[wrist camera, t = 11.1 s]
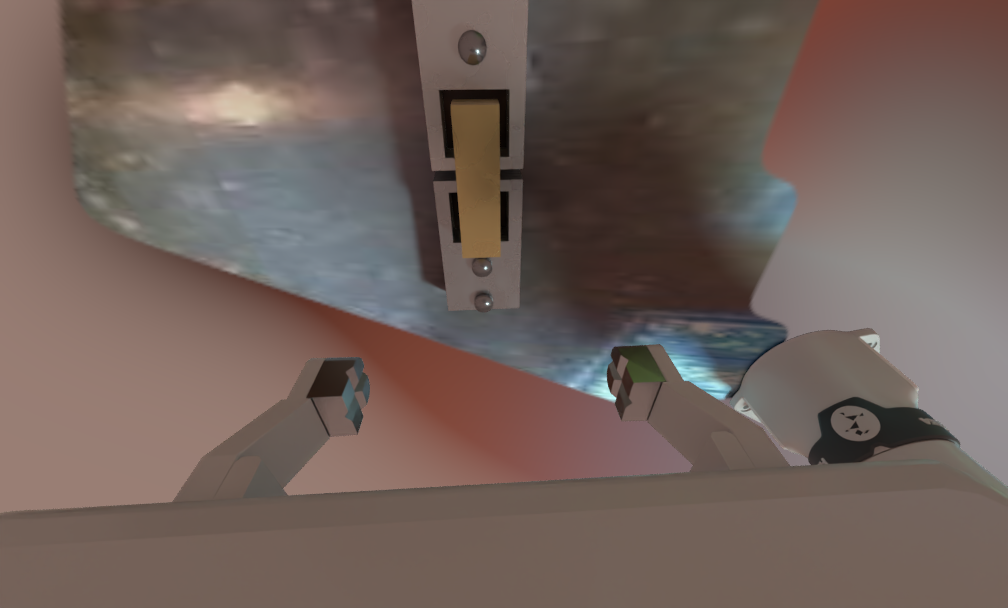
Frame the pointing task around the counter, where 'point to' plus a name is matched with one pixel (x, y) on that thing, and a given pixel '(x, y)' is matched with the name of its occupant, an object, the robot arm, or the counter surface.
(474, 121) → the tan bridge block
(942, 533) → the robot arm
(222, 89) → the counter surface
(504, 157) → the gray windowed bar
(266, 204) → the counter surface
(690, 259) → the counter surface
